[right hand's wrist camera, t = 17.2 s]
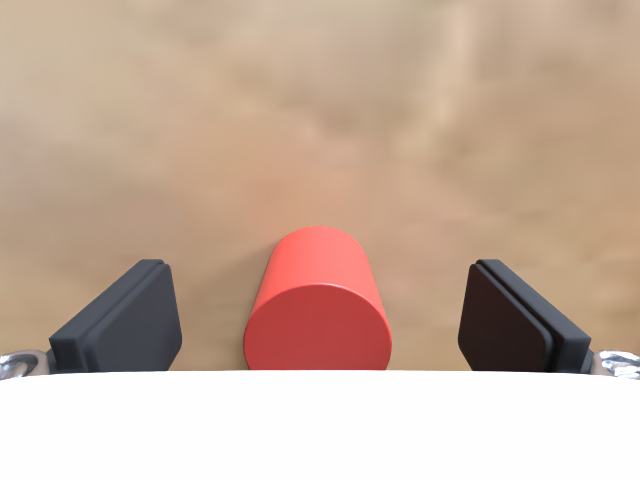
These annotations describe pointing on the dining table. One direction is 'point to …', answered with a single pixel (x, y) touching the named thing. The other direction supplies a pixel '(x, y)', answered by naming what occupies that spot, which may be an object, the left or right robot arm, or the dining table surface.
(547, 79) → the dining table surface
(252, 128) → the dining table surface
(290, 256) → the canister
